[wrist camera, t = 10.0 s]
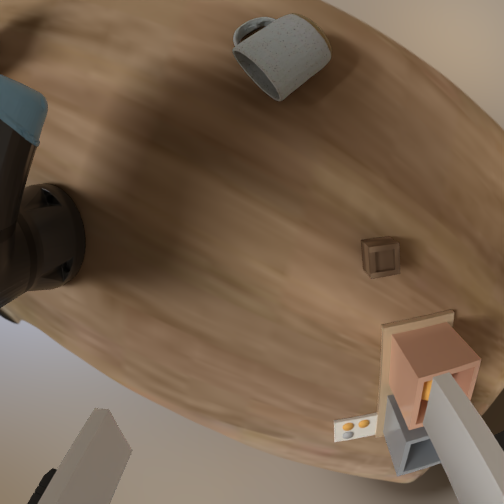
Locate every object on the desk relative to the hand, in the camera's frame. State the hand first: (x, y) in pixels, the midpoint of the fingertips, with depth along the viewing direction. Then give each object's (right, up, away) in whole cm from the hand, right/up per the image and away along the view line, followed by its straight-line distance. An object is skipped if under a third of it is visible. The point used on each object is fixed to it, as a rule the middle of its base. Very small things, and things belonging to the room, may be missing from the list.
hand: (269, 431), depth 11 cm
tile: (+16, -21, +33) cm, 42 cm away
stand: (+14, +7, +26) cm, 30 cm away
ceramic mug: (+2, +29, +21) cm, 36 cm away
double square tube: (+24, -12, +30) cm, 40 cm away
